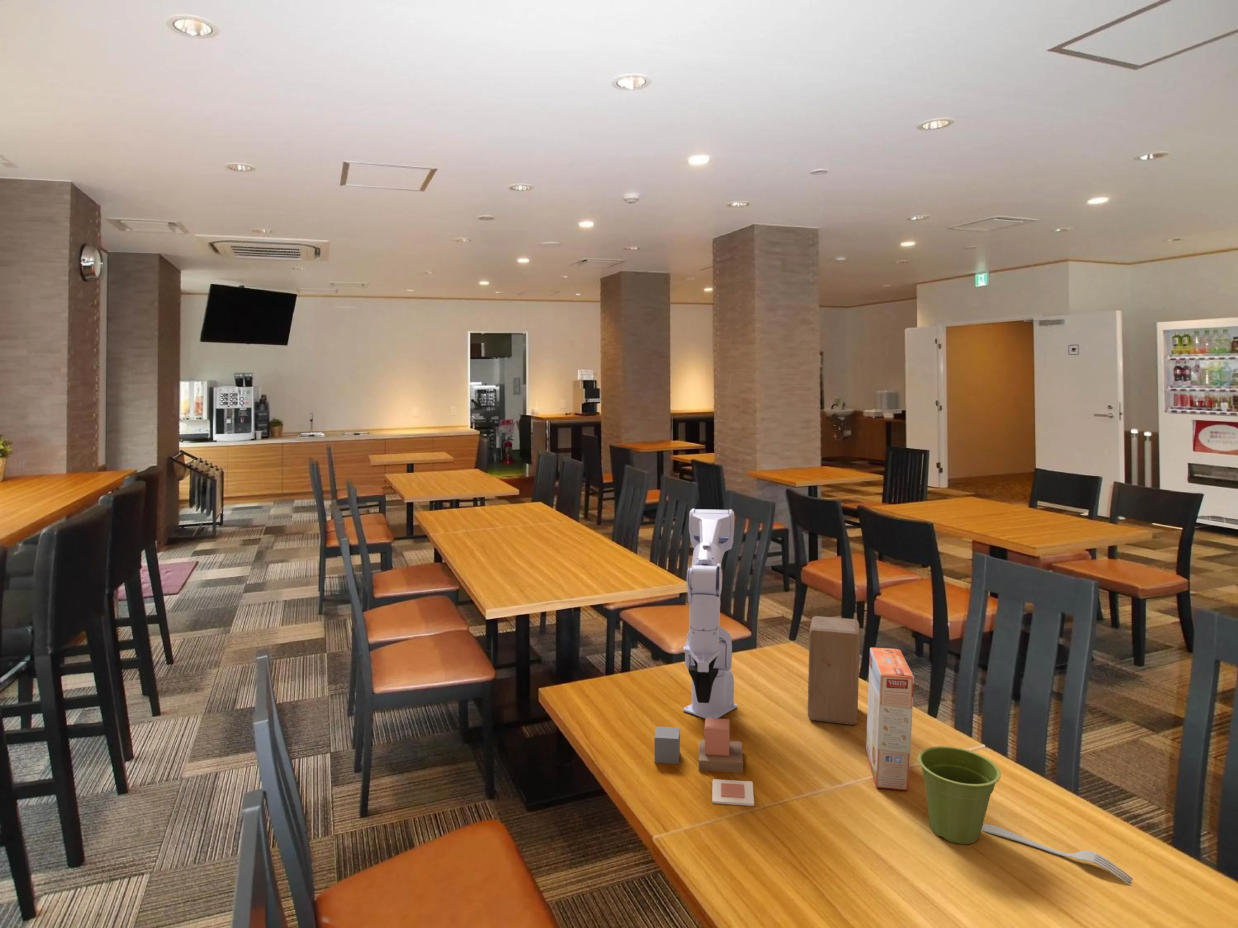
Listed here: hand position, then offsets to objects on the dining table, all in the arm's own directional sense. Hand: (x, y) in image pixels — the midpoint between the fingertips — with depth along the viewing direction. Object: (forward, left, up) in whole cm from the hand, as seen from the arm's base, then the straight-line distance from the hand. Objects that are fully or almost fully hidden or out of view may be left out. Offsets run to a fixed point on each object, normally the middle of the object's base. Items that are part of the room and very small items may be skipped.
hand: (703, 693), depth 146 cm
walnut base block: (+3, +6, -11) cm, 13 cm away
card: (+11, +14, -10) cm, 21 cm away
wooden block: (-29, +13, -11) cm, 34 cm away
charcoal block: (+8, -2, -11) cm, 14 cm away
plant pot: (-3, +47, -11) cm, 48 cm away
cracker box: (-14, +31, -11) cm, 36 cm away
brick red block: (+3, +5, -9) cm, 10 cm away
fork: (-7, +59, -11) cm, 61 cm away
